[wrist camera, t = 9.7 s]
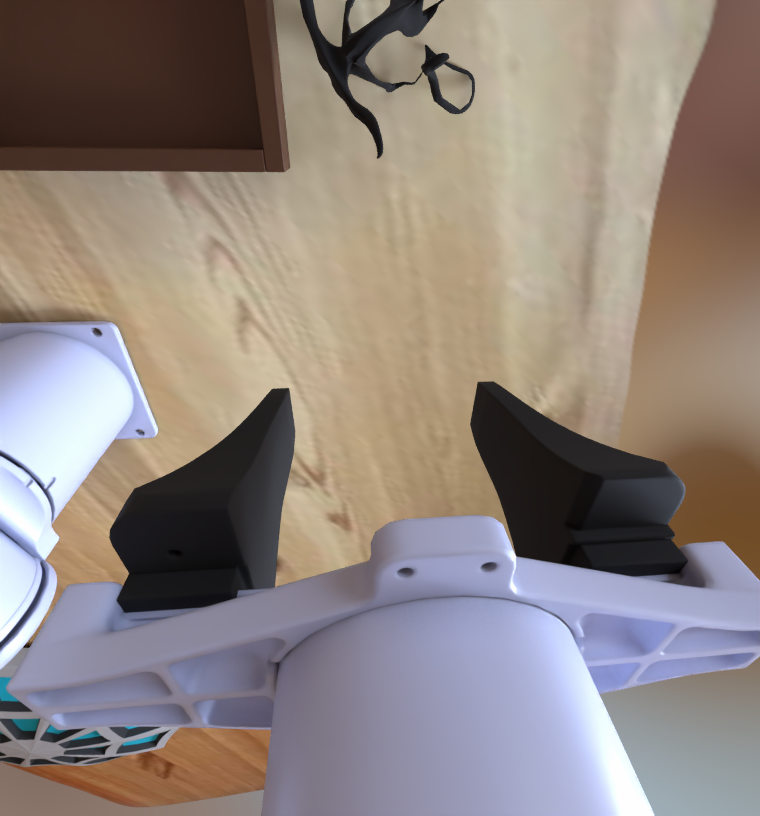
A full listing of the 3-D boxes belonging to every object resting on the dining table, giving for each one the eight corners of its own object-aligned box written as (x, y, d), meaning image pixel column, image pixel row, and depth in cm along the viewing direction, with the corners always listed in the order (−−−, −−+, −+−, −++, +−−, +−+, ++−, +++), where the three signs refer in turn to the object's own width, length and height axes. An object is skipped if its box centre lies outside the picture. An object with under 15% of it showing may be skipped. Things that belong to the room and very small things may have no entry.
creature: (426, -173, 14) (246, -26, 14) (509, -353, 9) (242, -130, 10) (505, 76, 18) (363, 184, 18) (590, 36, 13) (399, 180, 14)
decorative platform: (63, 610, 37) (29, 669, 33) (236, 709, 54) (227, 757, 50) (-174, 686, 42) (-230, 746, 38) (53, 756, 58) (31, 803, 54)
